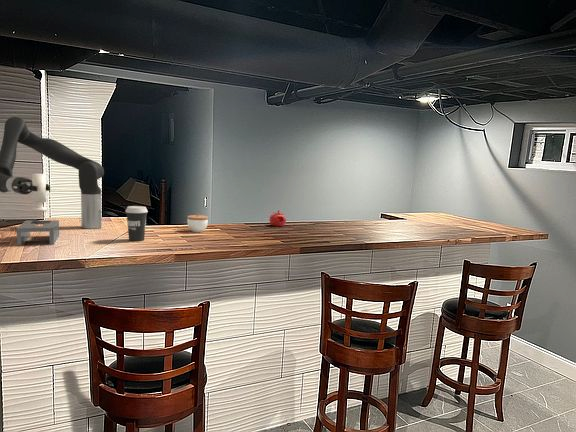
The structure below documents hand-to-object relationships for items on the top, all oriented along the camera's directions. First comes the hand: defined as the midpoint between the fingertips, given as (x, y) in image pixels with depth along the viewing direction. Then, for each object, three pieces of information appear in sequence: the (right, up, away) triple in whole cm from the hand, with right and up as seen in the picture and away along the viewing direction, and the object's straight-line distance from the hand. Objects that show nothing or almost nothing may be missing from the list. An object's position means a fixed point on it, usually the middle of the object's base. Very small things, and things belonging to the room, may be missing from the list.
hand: (43, 188), depth 185 cm
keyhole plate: (-1, -22, -1) cm, 22 cm away
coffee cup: (+36, -23, +11) cm, 44 cm away
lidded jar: (+58, -20, +41) cm, 73 cm away
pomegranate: (+99, -18, +72) cm, 124 cm away
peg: (-3, -10, +3) cm, 10 cm away
